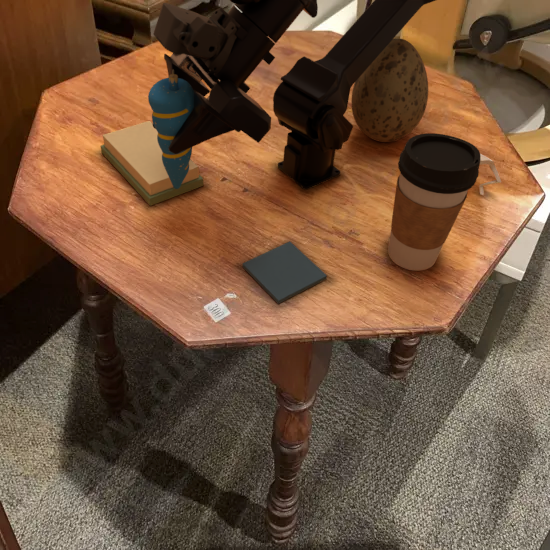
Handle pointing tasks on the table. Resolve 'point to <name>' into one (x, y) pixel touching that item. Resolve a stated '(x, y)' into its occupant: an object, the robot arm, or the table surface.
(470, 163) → the coffee cup
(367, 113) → the decorative egg
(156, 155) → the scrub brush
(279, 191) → the table surface
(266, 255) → the mat
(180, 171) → the ornament
